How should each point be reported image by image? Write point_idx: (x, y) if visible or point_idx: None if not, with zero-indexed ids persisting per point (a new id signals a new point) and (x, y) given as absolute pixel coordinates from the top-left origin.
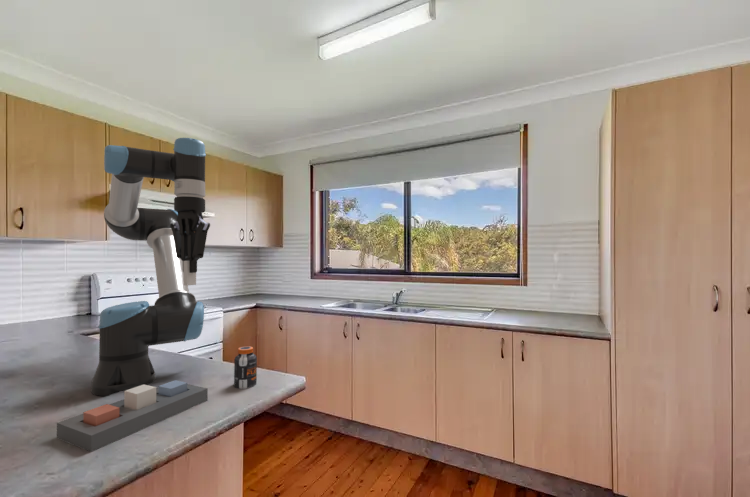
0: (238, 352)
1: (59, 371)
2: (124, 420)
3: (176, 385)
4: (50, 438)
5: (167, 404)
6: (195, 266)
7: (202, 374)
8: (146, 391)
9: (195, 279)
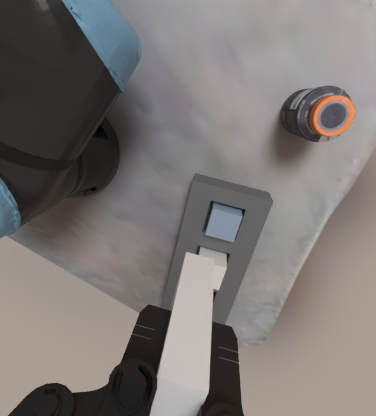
0: (315, 131)
1: None
2: (229, 301)
3: (232, 229)
4: (148, 290)
5: (249, 261)
6: (234, 375)
7: (164, 52)
8: (222, 278)
9: (213, 280)
